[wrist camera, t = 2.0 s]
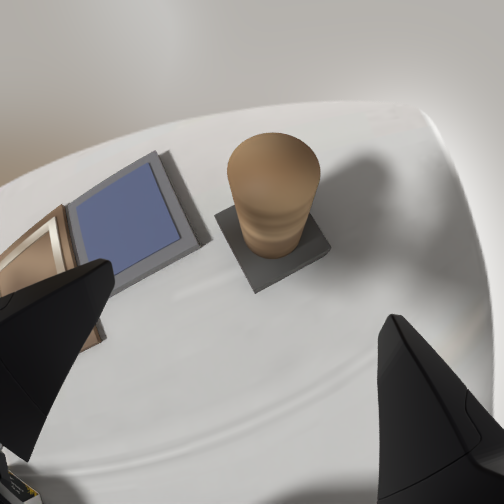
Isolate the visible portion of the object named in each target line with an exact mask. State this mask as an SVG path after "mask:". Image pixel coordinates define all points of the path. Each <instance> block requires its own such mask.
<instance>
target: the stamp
mask: <svg viewBox="0 0 504 504" xmlns="http://www.w3.org/2000/svg"><path fill="white" fill-rule="evenodd" d="M227 175H228V180H229V184H230V188H231V192H232V196H233V200H234V203H235V205H233V206H231V207H229V208H227V209H225V210H223V211H222V212H220V213H218V214H216V215H214V216H215V218H216V220H217V223H218V225H219V227H220V229H221V231H222V233H223V234H224V236H225V238H226V240H227V242H228V244H229V246H230V248H231V250H232V252H233V253H234V255H235V257H236V259H237V261H238V263H239V265H240V267H241V269H242V270H243V272H244V274H245V276H246V278H247V280H248V282H249V284H250V285H251V287H252V289H253V291H254V293H255V294H256V293H258V292H259V291H261V290H263V289H265V288H267V287H269V286H271V285H272V284H274V283H276V282H278V281H280V280H282V279H284V278H285V277H287V276H289V275H291V274H293V273H295V272H296V271H298V270H300V269H302V268H304V267H305V266H307V265H309V264H311V263H313V262H314V261H316V260H318V259H320V258H321V257H323V256H325V255H326V254H327V253H328V252H329V250H330V249H331V246H330V245H329V243H328V241H327V240H326V238H325V236H324V235H323V233H322V232H321V230H320V228H319V227H318V225H317V224H316V222H315V220H314V219H313V217H312V216H311V214H310V213H309V211H310V208H311V205H312V202H313V199H314V196H315V193H316V190H317V187H318V184H319V180H320V165H319V162H318V159H317V157H316V155H315V154H314V152H313V151H312V150H311V148H310V147H309V146H308V145H306V144H305V143H304V142H302V141H301V140H299V139H297V138H295V137H293V136H290V135H287V134H282V133H263V134H259V135H256V136H253V137H251V138H249V139H247V140H245V141H244V142H242V143H241V144H240V145H239V146H238V147H237V148H236V149H235V150H234V152H233V153H232V155H231V157H230V159H229V162H228V167H227Z"/></svg>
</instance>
